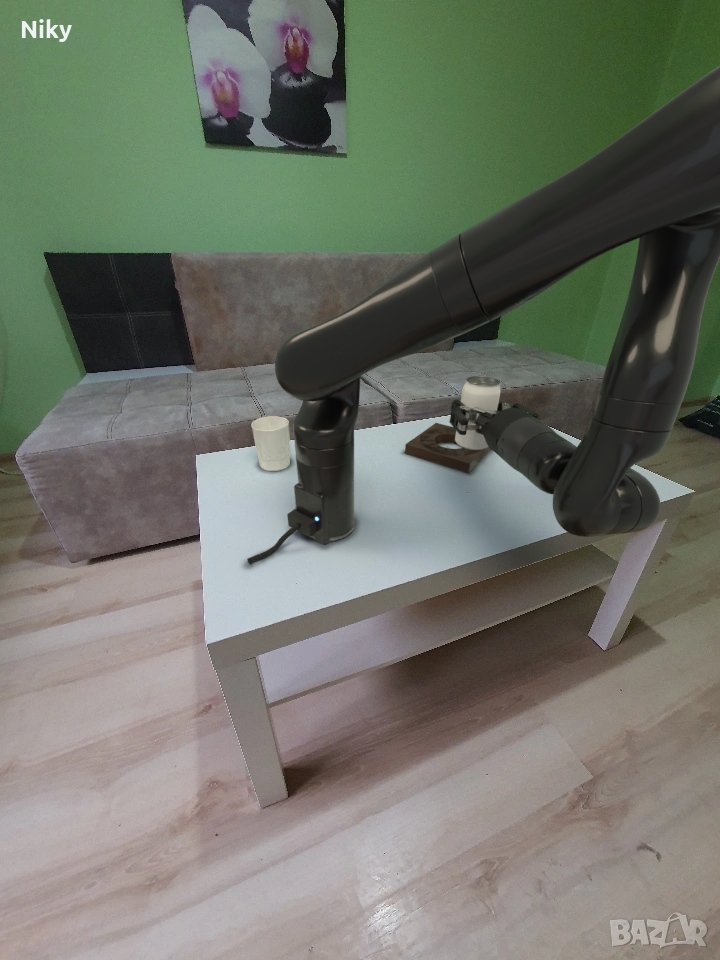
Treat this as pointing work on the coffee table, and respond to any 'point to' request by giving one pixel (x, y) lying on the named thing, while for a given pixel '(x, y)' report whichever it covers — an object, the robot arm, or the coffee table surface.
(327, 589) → the coffee table surface
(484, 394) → the can
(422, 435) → the base pad
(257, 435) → the white cup
